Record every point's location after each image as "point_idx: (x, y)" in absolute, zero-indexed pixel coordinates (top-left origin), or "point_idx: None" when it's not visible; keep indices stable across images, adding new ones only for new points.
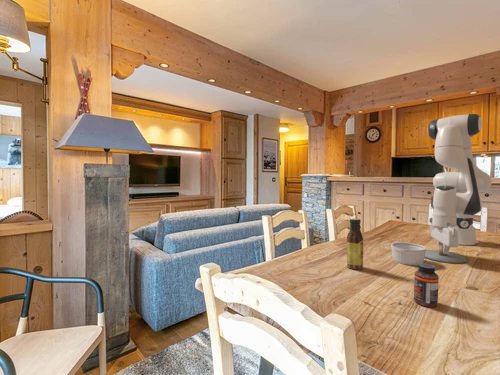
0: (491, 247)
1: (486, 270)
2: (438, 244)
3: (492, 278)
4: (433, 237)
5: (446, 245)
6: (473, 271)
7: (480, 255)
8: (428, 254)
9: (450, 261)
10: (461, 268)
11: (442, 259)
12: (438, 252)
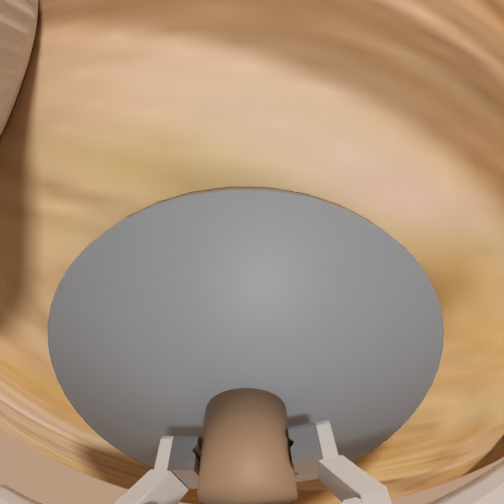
0: (471, 469)
1: (88, 466)
2: (339, 480)
3: (5, 429)
4: (487, 484)
5: (20, 498)
6: (27, 421)
7: None
8: (190, 286)
9: (76, 402)
10: (27, 400)
11: (65, 370)
12: (348, 389)
